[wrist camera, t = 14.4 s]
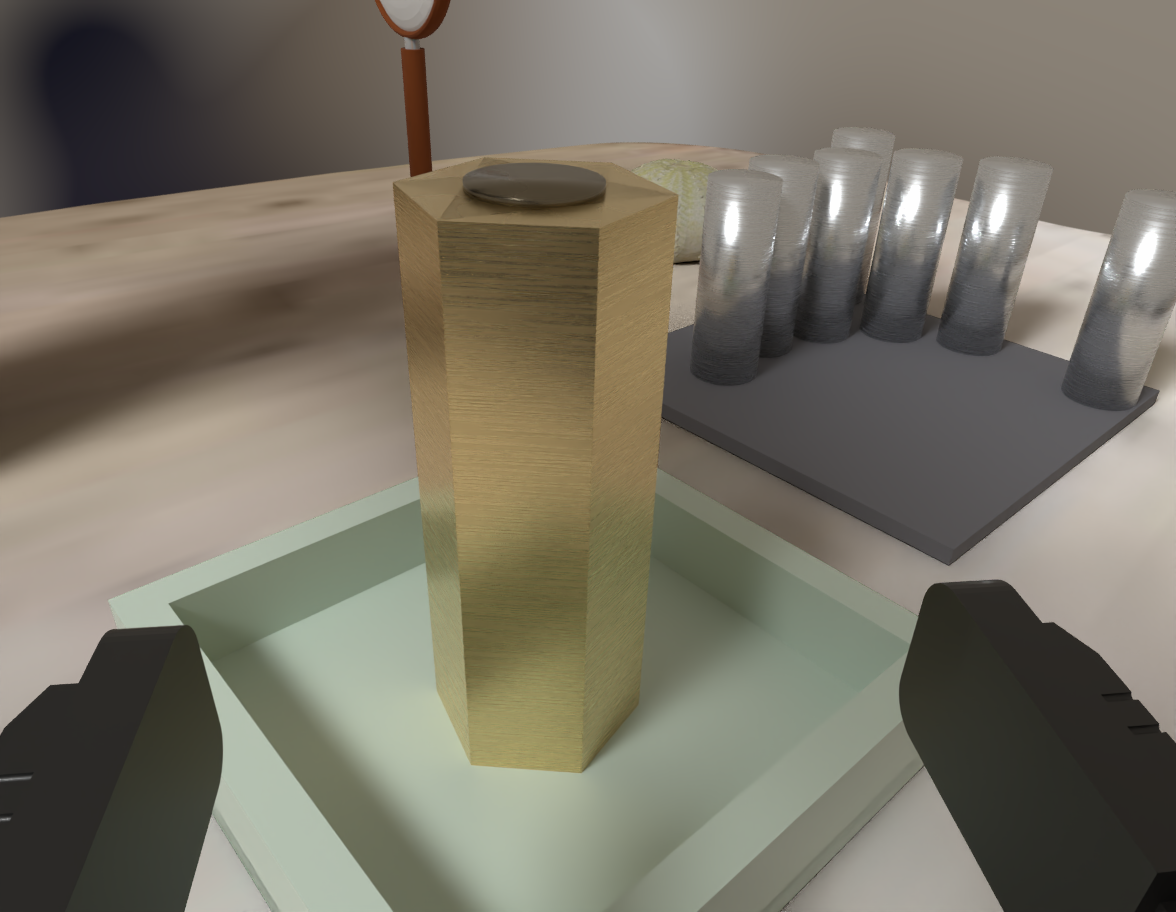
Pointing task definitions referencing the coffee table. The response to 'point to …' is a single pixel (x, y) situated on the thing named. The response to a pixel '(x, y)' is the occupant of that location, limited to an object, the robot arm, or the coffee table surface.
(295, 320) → the coffee table surface
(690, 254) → the sea urchin shell
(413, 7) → the magnifying glass
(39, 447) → the coffee table surface
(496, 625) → the gold hexagonal pillar
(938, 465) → the mat
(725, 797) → the parts tray
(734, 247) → the spacer posts
